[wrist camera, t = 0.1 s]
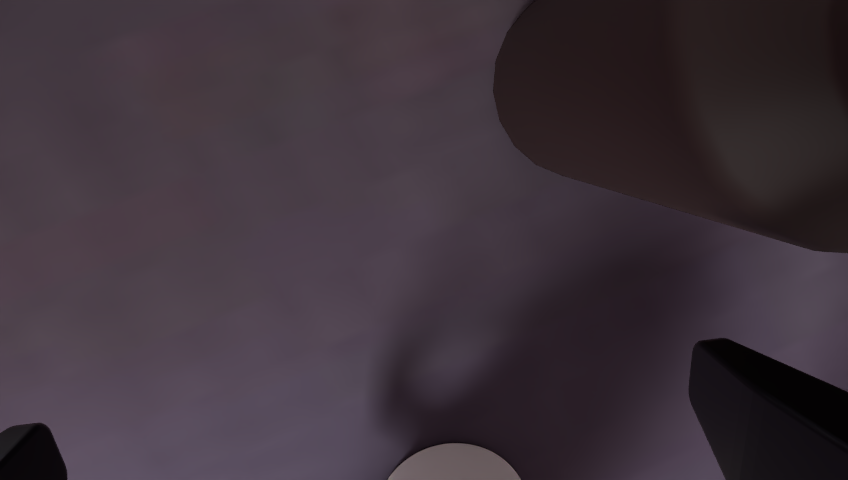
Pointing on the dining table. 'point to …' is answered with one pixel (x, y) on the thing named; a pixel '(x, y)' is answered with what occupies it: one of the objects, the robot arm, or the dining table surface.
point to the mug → (454, 464)
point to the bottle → (690, 106)
